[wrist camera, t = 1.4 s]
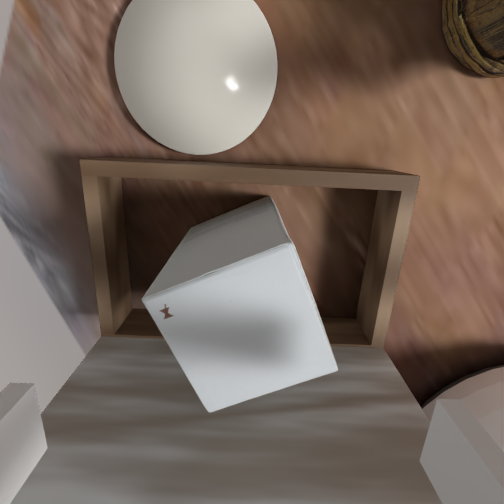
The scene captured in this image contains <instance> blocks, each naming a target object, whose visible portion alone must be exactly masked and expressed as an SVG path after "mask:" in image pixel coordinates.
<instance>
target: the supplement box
mask: <svg viewBox="0 0 504 504" xmlns="http://www.w3.org/2000/svg"><path fill="white" fill-rule="evenodd" d="M142 302H143V304H144V305H145V307H146V308H147V310H148V312H149V313H150V315H151V317H152V318H153V320H154V321H155V323H156V325H157V327H158V328H159V330H160V332H161V334H162V335H163V337H164V339H165V340H166V342H167V344H168V345H169V347H170V349H171V351H172V352H173V354H174V356H175V358H176V359H177V361H178V363H179V364H180V366H181V368H182V370H183V371H184V373H185V375H186V376H187V378H188V380H189V381H190V383H191V385H192V387H193V388H194V390H195V392H196V394H197V395H198V397H199V399H200V400H201V402H202V404H203V405H204V407H205V408H206V410H207V411H208V412H214V411H217V410H220V409H223V408H226V407H228V406H231V405H235V404H237V403H240V402H243V401H246V400H249V399H253V398H256V397H259V396H262V395H265V394H268V393H271V392H274V391H277V390H280V389H283V388H286V387H289V386H292V385H295V384H298V383H301V382H305V381H308V380H311V379H314V378H317V377H320V376H323V375H326V374H329V373H333V372H336V371H338V367H337V363H336V361H335V358H334V355H333V352H332V349H331V346H330V343H329V340H328V337H327V334H326V332H325V329H324V326H323V323H322V320H321V317H320V314H319V311H318V309H317V306H316V303H315V300H314V297H313V294H312V292H311V289H310V286H309V284H308V281H307V278H306V276H305V273H304V270H303V267H302V265H301V262H300V259H299V257H298V254H297V251H296V248H295V246H294V243H293V242H292V240H291V239H290V237H289V235H288V233H287V231H286V228H285V226H284V224H283V221H282V219H281V216H280V214H279V212H278V209H277V207H276V205H275V203H274V201H273V199H272V198H271V196H267V197H265V198H262V199H259V200H257V201H254V202H252V203H249V204H247V205H244V206H242V207H239V208H237V209H234V210H232V211H230V212H227V213H225V214H222V215H220V216H217V217H215V218H213V219H210V220H208V221H205V222H203V223H201V224H198V225H196V226H193V227H191V228H190V229H189V231H188V232H187V234H186V235H185V237H184V238H183V240H182V241H181V243H180V244H179V245H178V247H177V248H176V250H175V251H174V253H173V254H172V256H171V257H170V258H169V260H168V261H167V263H166V264H165V266H164V267H163V269H162V270H161V271H160V273H159V274H158V276H157V277H156V279H155V280H154V282H153V283H152V285H151V286H150V288H149V289H148V290H147V292H146V293H145V295H144V296H143V298H142Z"/></svg>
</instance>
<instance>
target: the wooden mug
mask: <svg viewBox="0 0 504 504" xmlns="http://www.w3.org/2000/svg"><path fill="white" fill-rule="evenodd" d="M442 30H443V33H444V36H445V39H446V42H447V45H448V48H449V50H450V51H451V52H452V54H453V55H454V56H455V57H456V58H457V59H458V60H459V61H460V62H461V64H463V65H464V66H466V67H468V68H469V69H471V70H473V71H475V72H476V73H478V74H481V75H483V76H485V77H490V78H498V77H504V0H443V2H442Z"/></svg>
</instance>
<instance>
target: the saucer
mask: <svg viewBox="0 0 504 504" xmlns="http://www.w3.org/2000/svg"><path fill="white" fill-rule="evenodd" d="M114 64H115V72H116V79H117V83H118V86H119V90H120V93H121V95H122V98H123V100H124V102H125V104H126V106H127V108H128V110H129V112H130V113H131V115H132V116H133V118H134V119H135V121H136V122H137V123H138V124H139V125H140V126H141V128H142V129H143V130H144V131H145V132H147V133H148V134H149V135H150V136H151V137H152V138H154V139H155V140H156V141H158V142H159V143H161V144H163V145H165V146H166V147H168V148H171V149H173V150H176V151H179V152H183V153H187V154H195V155H207V154H214V153H218V152H222V151H225V150H228V149H230V148H232V147H234V146H236V145H238V144H239V143H241V142H242V141H244V140H245V139H246V138H247V137H248V136H250V135H251V134H252V133H253V132H254V130H255V129H256V128H257V127H258V126H259V124H260V123H261V121H262V120H263V119H264V117H265V115H266V113H267V111H268V109H269V107H270V104H271V102H272V99H273V96H274V92H275V88H276V81H277V53H276V47H275V43H274V38H273V35H272V33H271V30H270V27H269V25H268V23H267V21H266V19H265V17H264V15H263V13H262V12H261V10H260V9H259V7H258V6H257V4H256V3H255V2H254V1H253V0H132V1H131V3H130V4H129V6H128V7H127V9H126V11H125V13H124V15H123V17H122V19H121V22H120V25H119V28H118V32H117V36H116V41H115V51H114Z"/></svg>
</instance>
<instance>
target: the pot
mask: <svg viewBox="0 0 504 504" xmlns="http://www.w3.org/2000/svg"><path fill="white" fill-rule="evenodd" d="M437 399H460V400H461V401H462V402H463V403H464V405H465V406H466V407H467V408H468V409H469V411H470V412H471V413H472V414H473V416H474V417H475V418H476V419H477V420H478V422H479V423H480V424H481V425H482V427H483V428H484V429H485V430H486V431H487V433H488V434H489V435H490V436H491V438H492V439H493V440H494V441H495V442H496V444H497V445H498V446H499V447H500V448H501V450H502V451H503V452H504V364H503V365H499V366H494V367H490V368H485V369H482V370H479V371H477V372H474V373H472V374H469V375H466V376H464V377H461V378H460V379H458V380H456V381H454V382H453V383H451V384H449V385H447V386H445V387H444V388H442V389H441V390H440V391H438V392H437V393H436V394H434V395H433V396H432V397H431V398H429V399H428V400H427V401H426V402H425V403H424V404H423V405H422V406H421V408H422V410H423V412H424V413H425V415H426V416H427V418H428V419H429V421H430V422H431V419H432V415H433V412H434V408H435V405H436V401H437Z"/></svg>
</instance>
